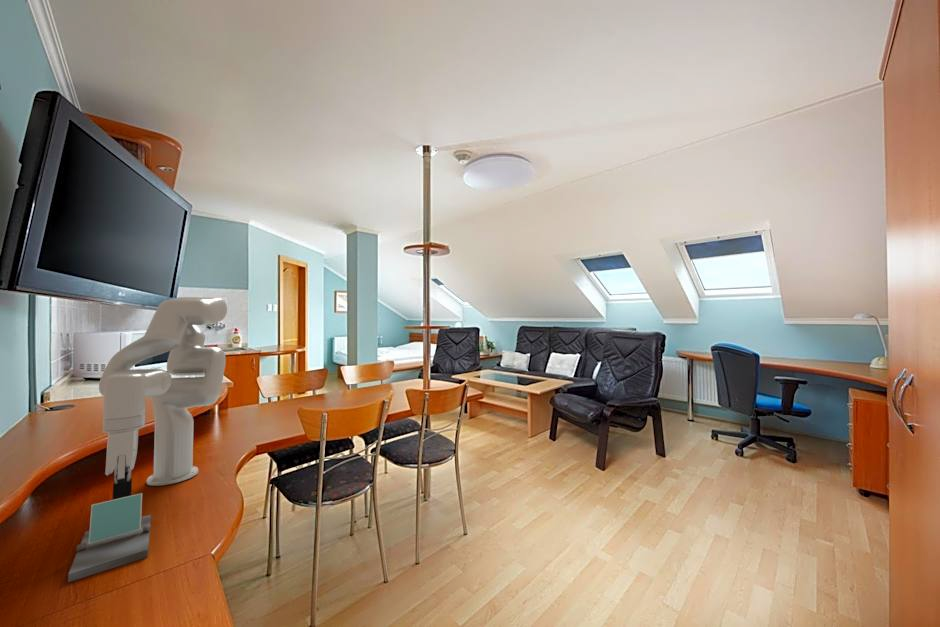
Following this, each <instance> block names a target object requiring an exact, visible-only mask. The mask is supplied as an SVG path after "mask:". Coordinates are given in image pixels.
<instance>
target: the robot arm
mask: <svg viewBox="0 0 940 627" xmlns="http://www.w3.org/2000/svg"><path fill="white" fill-rule="evenodd" d="M227 313H228V307H227V303H226V301H225V300H224V299H222V298H220V297H208V296H207V297H206V296H205V297H203V296H202V297H197V296H196V297H195V296H181V297H174V298H170V299H166V300H163V301H162V302H161V303H159V305H158V307H157V308H156V310H155V312H154V314H153V317H152V319H151V320H150V322H149V325H148V327H147V329H146V331H145V333H144V335H143V336H142V337H140V338H138V339H136V340H134V341H132V342H131V343H129V344H127V345H126V346H124V347H123V348H122V349H120V350H118V352H116V353H115V354H114V355H113V356H112V357H111V358H110V360H108V363H107V365H106V366H105V368H104V370H103V372H102V374H101V377H100V380H99V382H98V391H99V393H100V394H101V396H102V397H103V413H102V414H103V418H102V419H103V420H102V433H103V434H108V435H107V445H106V457H105V458H106V459H105V472H104V475H106V476H109V475H111V474H114V478H113V480H114V482H113V484H112V485H113V486H112V500H114V499H119V498H123V497H127V496H131V495H132V490H133V489H132V486H133V484H132V483H133V478H131V477H132V470H134V467H135V464H136V460H137V454H138V445H139V430H140V429H143V428H144V427H145V426H146V404H147V403H146V402H147V400H146V399H147V398H151V402H152V406H153V412H154V444H153V445H154V447H153V448H154V449H153V474H150V475H149V476H148V477H147V479H146V485H148V486H155V487H159V486H160V487H161V486H167V485H168V486H169V485H173V484H177V483H181V482H184V481H186V480H188V479H191V478H193V477H195V476H197V474H198V473H199V468H198V466H196V465H195V466H194V465H193V464H194V463H193V462H194V459H193V458H194V454H193V453H194V447H193V446H194V425H195V424H194V422H195V421H194V418H193V415H192V413H191V412H190V411H189V409H188V408H190V407H191V408H195V407H208V406H211V405H214V404H215V403H217V401H218V400H219V397H220V393H221V390H222V385H223V378H224V375H225V370H226V358H227V356H226V354H225V351H224V350H223V349H222V348H220V347H217V346H216V347H214V346H205V345H204V344H205V340H206V336H205V333H204V332H203V331H202V329H201V328H200V327H199V326H209V325H213V324H217V323H219V322H222V321H223V320H224V319H225V317H226V316H227ZM204 346H205V347H204ZM168 352H169V354H168V357H167V363H166V370H165V369H162V368H161V369H160V368H145V369H144V368H142V369H141V368H139V369H137V368H136V369H131V368H133V367H134V366H135V365H137V364H139V363H141V362H143V361H144V360H148V359H150V358H153V357H156V356H160V355H163V354H165V353H168ZM172 376H180V377H172ZM185 376H186V377H185ZM191 376H192V377H191ZM193 376H195V377H193ZM113 472H114V473H113Z"/></svg>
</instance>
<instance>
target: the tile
mask: <svg viewBox="0 0 940 627" xmlns="http://www.w3.org/2000/svg"><path fill="white" fill-rule="evenodd" d="M142 506H143V493H142V492H141V493H136V494H131V496H127V497H123V498H119V499H114V500H113V499H111V500H106V501H102V502H101V501H100V502H98V503H93V504H91V508H90V517H89V518H90V519H89V530H88V531H89V542H88V544H91V543H94V542H98V541H101V540H105V539H108V538H112V537H115V536H119V535H123V534H126V533H130V532H133V531H137V530H140V529H141V517H142V509H143V507H142Z"/></svg>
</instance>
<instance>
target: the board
mask: <svg viewBox="0 0 940 627" xmlns="http://www.w3.org/2000/svg"><path fill="white" fill-rule="evenodd" d="M151 523H152V514H148V515H144V516H141V529H140V530H137V531H133V532H130V533H126V534H123V535H119V536H115V537H112V538H108V539H105V540H101V541H98V542H94V543H91V544H88V542H89V530H86V531H85V532H84V534H83V537H82V539H81V542H80V544H77V545H76V552H77V553H76V554H75V556H74V559H73V561H72V564H71V567H70V568H69V569H70V570H69V572H68V575H67V576H68V577H67V583H70V582H71V583H72V582H73V581H77V580H80V579H82V578H86V577H89V576H92V575H96V574H98V573H102V572H105V571H107V570H110V569H111V570H112V569H113V568H118V567H120V566H123V565H126V564H129V563H133V562H135V561H139V560H143V559H144V558H148V556H149V548H150V547H149V545H150V535H151V534H150V533H151Z"/></svg>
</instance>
